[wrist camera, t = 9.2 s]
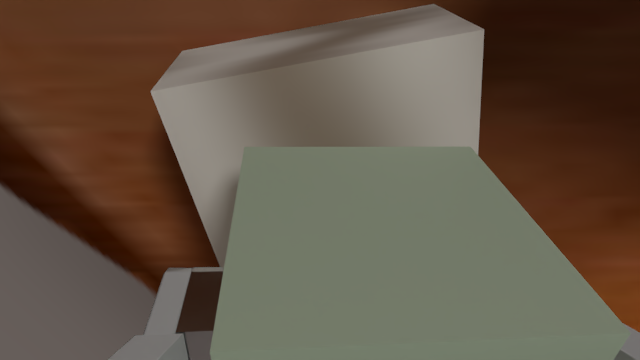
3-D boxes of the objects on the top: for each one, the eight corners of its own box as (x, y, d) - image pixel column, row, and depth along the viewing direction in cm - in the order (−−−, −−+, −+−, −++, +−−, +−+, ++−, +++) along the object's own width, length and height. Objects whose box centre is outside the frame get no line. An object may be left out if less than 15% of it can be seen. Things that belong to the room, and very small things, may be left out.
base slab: (431, 2, 13) (484, 29, 10) (434, 205, 17) (472, 273, 14) (184, 48, 13) (150, 91, 10) (246, 238, 17) (238, 314, 14)
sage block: (470, 146, 9) (630, 332, 5) (430, 302, 12) (513, 512, 8) (244, 146, 9) (209, 351, 5) (254, 308, 11) (238, 535, 7)
